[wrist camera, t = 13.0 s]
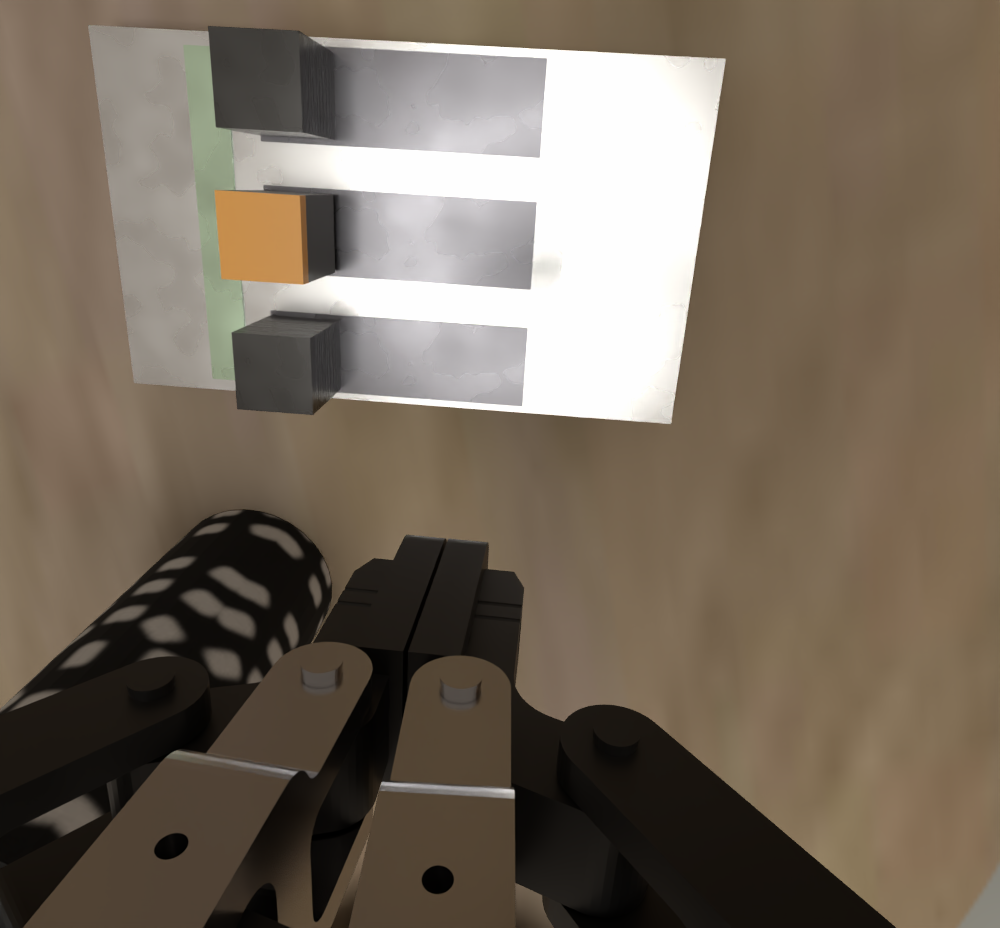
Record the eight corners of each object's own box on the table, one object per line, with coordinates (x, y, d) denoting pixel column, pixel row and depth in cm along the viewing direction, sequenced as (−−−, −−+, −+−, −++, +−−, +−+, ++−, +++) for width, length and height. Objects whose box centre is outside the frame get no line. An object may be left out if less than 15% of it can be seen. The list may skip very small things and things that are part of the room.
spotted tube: (154, 522, 37) (-248, 856, 19) (306, 498, 36) (40, 827, 17) (208, 656, 40) (-95, 1063, 21) (350, 637, 39) (161, 1049, 20)
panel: (714, 67, 28) (754, 36, 22) (664, 410, 33) (686, 456, 27) (117, 35, 29) (12, -2, 24) (157, 372, 34) (77, 408, 29)
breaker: (333, 194, 28) (299, 195, 25) (335, 272, 30) (303, 284, 26) (258, 190, 29) (214, 190, 25) (263, 267, 30) (221, 279, 26)
